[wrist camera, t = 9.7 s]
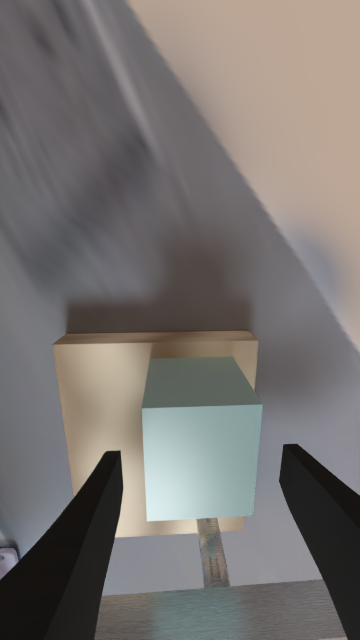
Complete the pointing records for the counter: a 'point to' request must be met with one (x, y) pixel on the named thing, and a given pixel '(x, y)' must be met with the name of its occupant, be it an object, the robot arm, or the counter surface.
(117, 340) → the tan flat wooden board
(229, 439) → the pale green block
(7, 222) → the counter surface
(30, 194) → the counter surface
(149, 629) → the latch
